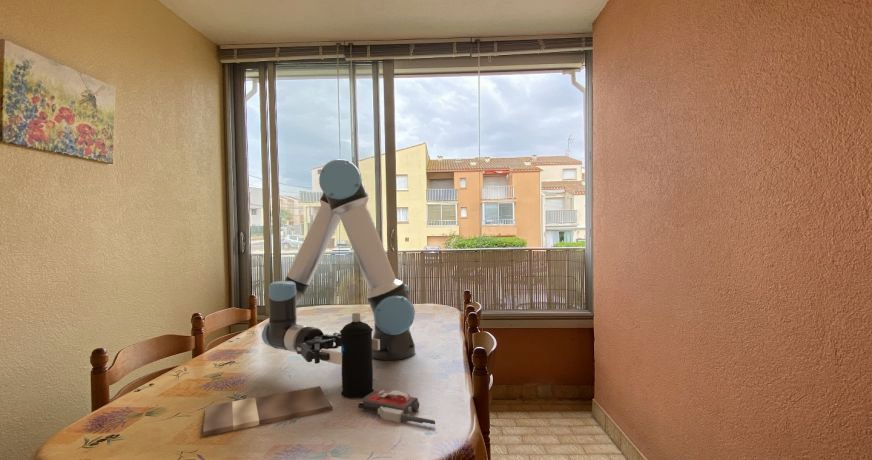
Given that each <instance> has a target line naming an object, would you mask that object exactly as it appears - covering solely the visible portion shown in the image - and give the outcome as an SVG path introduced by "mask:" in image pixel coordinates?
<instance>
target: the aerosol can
mask: <svg viewBox="0 0 872 460" xmlns="http://www.w3.org/2000/svg"><path fill="white" fill-rule="evenodd" d="M351 317H352V318H351V319H352V320H351V322H348V323H347V324H345V325H344V326H343V327H342V328H341V329H340V330H339V333H341V346H340V347H341V349H340V350H341V351H340V352H342V364H341V392H340V394H341V396H342V397H344V398H346V399H362V398H363V399H364V397H366V396H367V395H369V394H370V393H372V392H373V391H375V388H374V382H373V381H374V378H373V374H374V373H373V357H372V338H373V334H372V333H373V328H372V327H371V326H370V325H369V324H368V323H366V322H363V321H361V313H360V312H354V313H352V314H351Z"/></svg>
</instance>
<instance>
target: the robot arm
mask: <svg viewBox="0 0 872 460" xmlns="http://www.w3.org/2000/svg"><path fill="white" fill-rule="evenodd" d="M318 178H319V179H318V181H319V182H318V183H319V187H320V190H321V191H322V195H321V197H320V199H319V202H320V206H319V209H318V211H317V213H316V215H315V216H314V219H313V221H312V223H311V225H310V227H309V230H308V231H307V234H306V236H305V238H304V240H303V242H302V244H301V245H300V248H299V250H298V252H297V254H296V256H295V258H294V261H293V262H292V265H291V267H290V269H289V270H288V273H287V275H286V277H285V279H284V280H279V281H273V282H271V283H269V285H268V294H267V296H268V312H269V313H268V314H269V315H268V317H269V318H268V320H269V321H268V322H267V323H266V324H265V325H264V327H263V330H262V331H261V338H262V341H263V342H264V344H265V345H267V346H268V347H271V348H274V349H276V350H284V351H289V352H292V353H296V354H297V355H301V356H302V358H303V359H304V360H305V361H306V362H307V363H311V362H313V360H314V364H320V363H321V361H323V362H328V363H332V364H335V365H342V352H341V351H337V350H334V349H338V348H339V347H341V333H340V332H333V333H332V334H324V333H323V331H322V330H321V329H320V328H318V327H314V326H308V325H301V324H297V306H298V305H300V304H301V303H302V302H303V300H304V299H305V296H306V292H307V290H308V288H309V287H310V286H309V285H310V284H311V282H312V280H313V277H314V275H315V274H316V272H317V269H318V268H319V265H320V262H321V261H322V259H323V257H324V254H325V253H326V250H327V248H328V246H329V244H330V242H331V240H332V239H333V236H334V234H335V231H336V230H337V228H338V225H339V223H340V222H341V223H342V225H343V228H344V231H345V233H346V235H347V238H348V241H349V243H350V246H351V248H352V250H353V253H354V255H355V258H356V261H357V263H358V265H359V267H360V270H361V273H362V275H363V277H364V281H365V282H366V285H367V287H368V292H367V295H366V298H367V301H368V303H369V307H370V309H371V311H372V313H373V318H374V320H373V321H374V332H373V334H372V359H377V360H383V361H396V360H403V359H407V358H410V357H413V356H414V355H415V354H416V345H415V342H414V339H413V336H412V333H411V331H410V328H411V326H412V325H413V323H414V320H415V315H416V312H415V307H414V305H413V303H412V301H411V299H410V288H409V285H408V284H404V282H403V281H402V280H400V279H397V278H396V275H395V273H394V270H393V268H392V266H391V263H390V261H389V258H388V256H387V253H386V250H385V248H384V245H383V243H382V241H381V240H382V239H381V238H380V235H379V233H378V230H377V228H376V225H375V222H374V221H373V218H372V216H371V215H372V214H371V213H370V211H369V208H368V205H367V204H368V202H369V199H370V197H369V194H368V192H367V189H366V187H365V184H364V182H363V179H362V174H361V172H360V169H359V167H357V165H355V163H353V162H351V161H349V160H347V159H343V158H338V159H337V158H336V159H333V160H330V161H329V162H327V163H326V164H325V165H324V166H322V169H321V171H320V173H319V176H318ZM334 343H335V344H334Z"/></svg>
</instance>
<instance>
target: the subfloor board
mask: <svg viewBox="0 0 872 460" xmlns="http://www.w3.org/2000/svg"><path fill="white" fill-rule="evenodd" d="M330 411H333V405H332V403H331V402H330V400H329V398H328V397H327V395H326V394H325V392H324V391H323V389H322V387H321V385H317V386H313V387H307V388H301V389H295V390H294V389H293V390H290V391H285V392H284V391H283V392H279V393H273V394H272V393H271V394H267V395H262V396H255V397H249V398H245V399H244V398H243V399H239V400H232V401H227V402H222V403H217V404H210V405H205V412H204V420H203V427H202V437H209V436H212V435H217V434H222V433H223V434H224V433H227V432H232V431H237V430H241V429H247V428H252V427H256V426H261V425H267V424H271V423H277V422H280V421H286V420H291V419H295V418H301V417H304V416H305V417H307V416H311V415H315V414H319V413H320V414H321V413H325V412H330Z"/></svg>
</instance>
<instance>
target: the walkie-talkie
mask: <svg viewBox="0 0 872 460" xmlns="http://www.w3.org/2000/svg"><path fill="white" fill-rule="evenodd" d="M362 400H363V401H362V402H359V403H358V404H357V408H358V409H362V410H363V411H364V412H365V413H366V412H367V413H371V414H375V415H376V414H377V415H379V416H380V417H381V419H383V420H384V421H389V422H394V423H396V424H397V423H398V424H400V423H401V422H402V421H404V422H406V421H408V422H413V423H418V424H423V423H425V424H430V425H435V424H436V421H435V420H434V419H429V418H425V417H424V418H423V417H418V416H413V415H412V414H413V413H414V412H418V411H419V409H420V402H419V400H418V397H415V396H411V395H410V394H409V392H406V391H400V390H394V389H393V390H391V391H390V392H385V390H384V389H382V390H381V391H378V390H374V391H373V392H372V393H370V394H369V395H367V396H366V397H363V399H362Z"/></svg>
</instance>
